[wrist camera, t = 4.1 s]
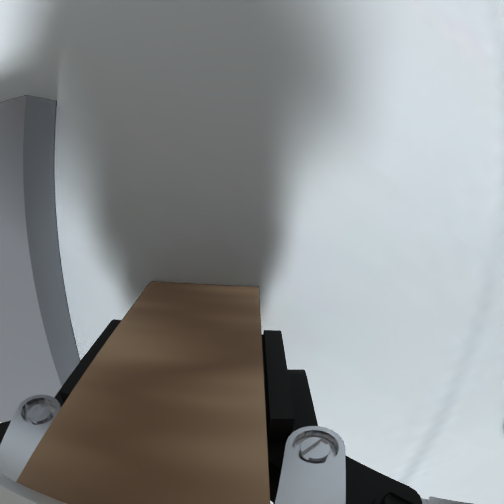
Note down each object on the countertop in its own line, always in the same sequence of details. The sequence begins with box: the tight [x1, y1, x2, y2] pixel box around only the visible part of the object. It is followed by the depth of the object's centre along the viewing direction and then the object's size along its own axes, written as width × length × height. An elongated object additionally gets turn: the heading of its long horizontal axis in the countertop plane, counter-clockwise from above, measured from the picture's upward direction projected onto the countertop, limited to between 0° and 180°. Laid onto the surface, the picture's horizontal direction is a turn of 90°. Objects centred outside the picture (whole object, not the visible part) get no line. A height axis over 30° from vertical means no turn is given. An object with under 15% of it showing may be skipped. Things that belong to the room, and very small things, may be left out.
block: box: [16, 281, 270, 504], centre depth 7 cm, size 4×4×10 cm
